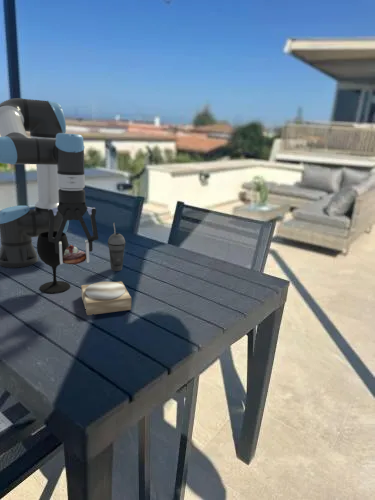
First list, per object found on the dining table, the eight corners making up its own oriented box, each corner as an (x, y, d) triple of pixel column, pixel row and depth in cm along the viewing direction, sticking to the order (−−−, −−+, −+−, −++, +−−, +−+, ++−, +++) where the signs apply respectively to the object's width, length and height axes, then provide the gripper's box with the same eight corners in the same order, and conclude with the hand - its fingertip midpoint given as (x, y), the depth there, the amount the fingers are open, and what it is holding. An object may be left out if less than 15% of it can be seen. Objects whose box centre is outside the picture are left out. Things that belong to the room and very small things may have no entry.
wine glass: (41, 295, 120) (37, 239, 114) (38, 284, 129) (34, 231, 123) (72, 291, 125) (70, 237, 119) (67, 280, 134) (65, 229, 128)
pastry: (61, 257, 114) (60, 242, 112) (85, 256, 116) (84, 241, 115) (62, 266, 107) (61, 250, 105) (87, 264, 109) (87, 248, 108)
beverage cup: (121, 273, 144) (121, 226, 138) (104, 270, 145) (104, 224, 139) (127, 267, 151) (128, 222, 145) (111, 265, 152) (111, 220, 146)
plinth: (81, 296, 121) (81, 283, 120) (121, 292, 127) (121, 279, 125) (87, 315, 109) (86, 300, 108) (131, 309, 115) (131, 295, 113)
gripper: (34, 190, 96) (39, 268, 103) (108, 190, 103) (108, 263, 110) (34, 186, 103) (40, 260, 109) (104, 187, 110) (105, 256, 117)
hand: (74, 261), depth 110 cm, fingers closed on pastry, 7 cm apart
